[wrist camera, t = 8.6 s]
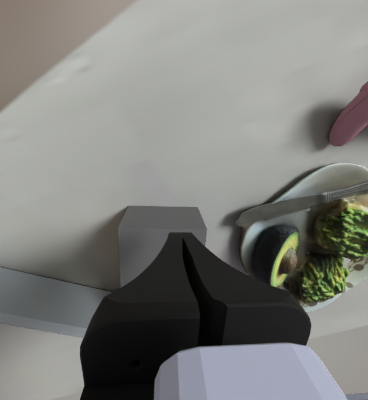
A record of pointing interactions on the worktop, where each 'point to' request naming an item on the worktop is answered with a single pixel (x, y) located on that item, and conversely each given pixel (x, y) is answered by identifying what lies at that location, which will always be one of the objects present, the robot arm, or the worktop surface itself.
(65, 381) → the worktop surface
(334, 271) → the salad plate
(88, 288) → the side door
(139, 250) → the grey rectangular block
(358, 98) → the video game controller
